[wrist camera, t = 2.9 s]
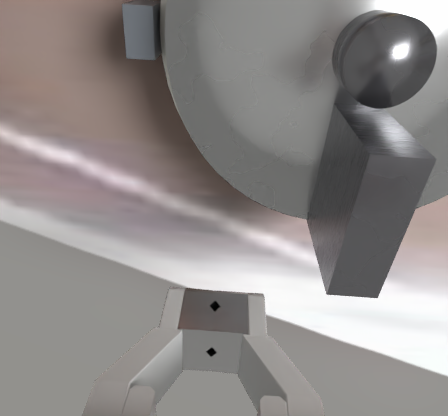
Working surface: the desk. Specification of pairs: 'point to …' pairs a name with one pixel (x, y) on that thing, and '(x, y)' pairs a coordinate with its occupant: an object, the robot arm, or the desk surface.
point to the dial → (320, 115)
